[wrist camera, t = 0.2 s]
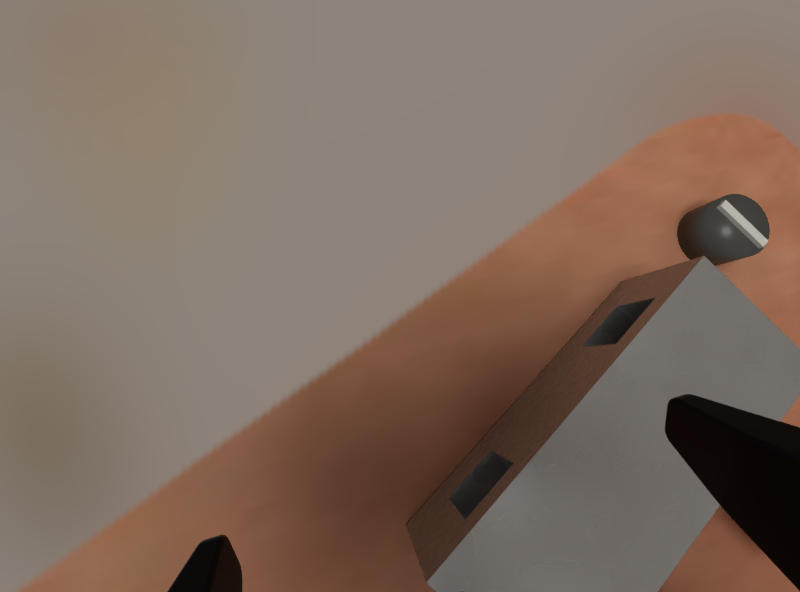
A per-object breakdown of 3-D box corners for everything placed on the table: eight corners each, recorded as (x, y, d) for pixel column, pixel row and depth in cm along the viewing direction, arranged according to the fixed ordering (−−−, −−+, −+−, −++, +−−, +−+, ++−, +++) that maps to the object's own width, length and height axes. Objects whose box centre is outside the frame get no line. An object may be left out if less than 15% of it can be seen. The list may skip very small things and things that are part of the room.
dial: (741, 239, 27) (786, 224, 24) (708, 278, 26) (750, 268, 23) (699, 198, 27) (738, 179, 24) (665, 236, 26) (702, 221, 24)
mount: (709, 367, 25) (819, 367, 19) (505, 626, 22) (562, 723, 16) (621, 281, 25) (704, 255, 20) (405, 524, 22) (426, 582, 16)
